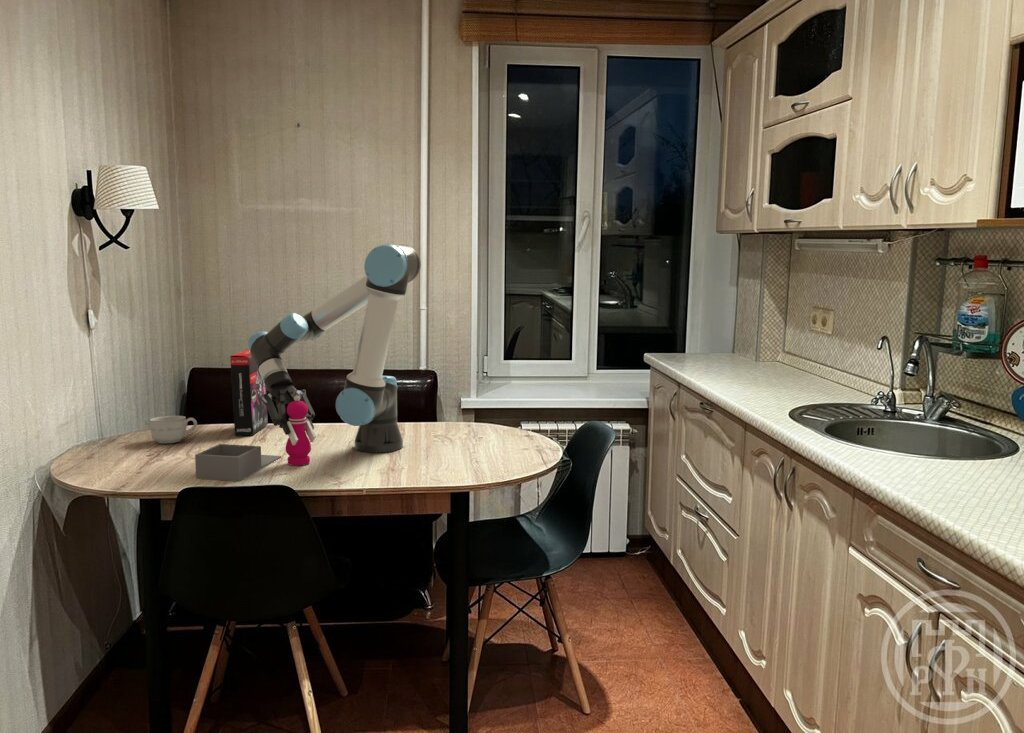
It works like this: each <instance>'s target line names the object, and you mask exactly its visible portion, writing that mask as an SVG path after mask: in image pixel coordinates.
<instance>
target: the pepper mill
mask: <svg viewBox="0 0 1024 733" xmlns="http://www.w3.org/2000/svg"><path fill="white" fill-rule="evenodd" d="M294 400H295V401H293V402H291V403H289V404H287V405H286V415H288V421H290V422H291V425H292V427H293V429H294V431H295V434H296V436H297V438H298V441H297V443H296V444H295V445H292V443H291V440H290V438H289V437H288V439H287V441H286V444H285V452H286V454H287V455H288V457H287V464H288V465H289V466H292V465H294V467H295V466H296V465H301V466H305V465H304V464H306V465H308V463H309V462H311V458H310V456H309V454H310V453H311V451H312V445H311V442H310V440H309V437H308V435H307V433H306V431H305V423H306V422H307V421H306V417H305V416H306V414H307V413H308V407H307V405H306V403H304V402H303V401H300V397H299V396H297V395H295V397H294ZM309 464H310V463H309ZM296 467H297V466H296Z"/></svg>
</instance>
